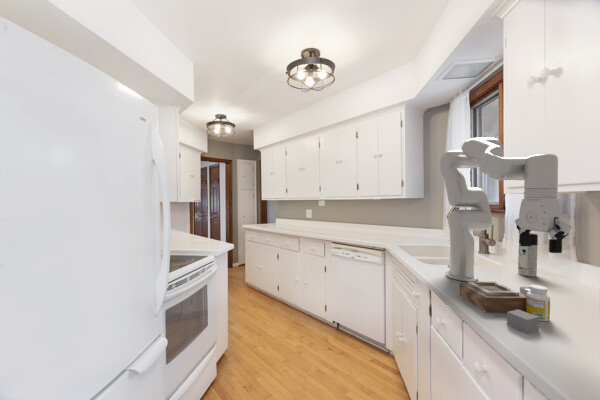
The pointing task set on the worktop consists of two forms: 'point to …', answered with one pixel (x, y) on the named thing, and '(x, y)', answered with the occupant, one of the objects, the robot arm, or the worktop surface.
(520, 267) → the spray can
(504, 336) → the worktop surface
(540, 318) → the supplement bottle
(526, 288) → the metal tin
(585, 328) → the worktop surface
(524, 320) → the grey rubber block
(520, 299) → the walnut stand
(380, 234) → the worktop surface
